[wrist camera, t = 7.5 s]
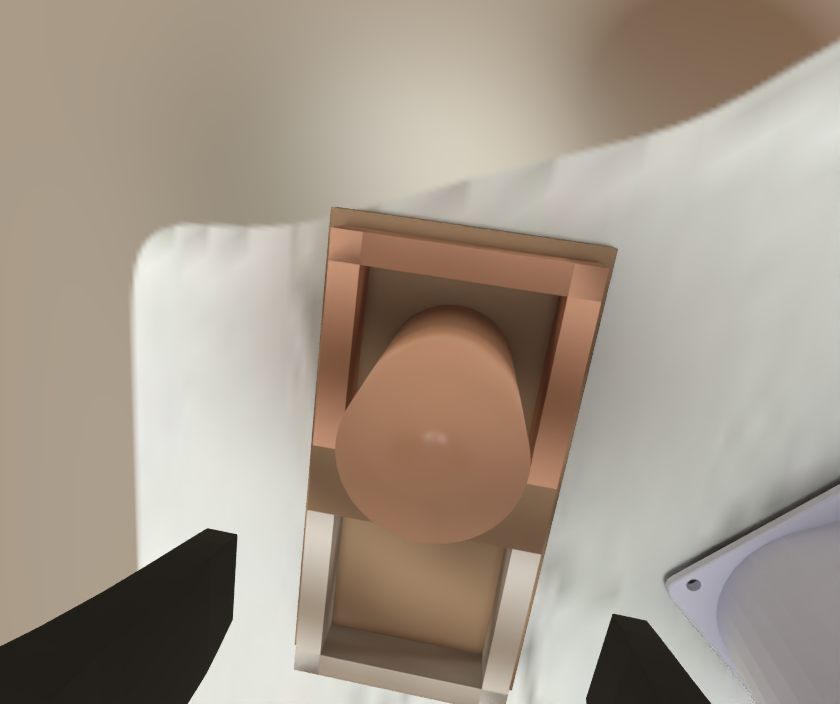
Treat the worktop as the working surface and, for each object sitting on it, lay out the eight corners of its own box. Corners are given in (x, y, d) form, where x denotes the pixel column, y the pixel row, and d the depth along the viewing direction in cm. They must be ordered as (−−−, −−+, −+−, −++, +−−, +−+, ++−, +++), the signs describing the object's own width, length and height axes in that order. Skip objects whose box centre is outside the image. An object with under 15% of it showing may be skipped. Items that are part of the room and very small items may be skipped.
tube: (458, 278, 18) (444, 324, 11) (539, 376, 18) (571, 476, 12) (362, 356, 19) (296, 441, 12) (441, 446, 19) (419, 575, 13)
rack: (337, 207, 18) (316, 208, 16) (612, 246, 18) (631, 254, 15) (300, 630, 24) (281, 676, 21) (510, 674, 23) (513, 726, 21)
